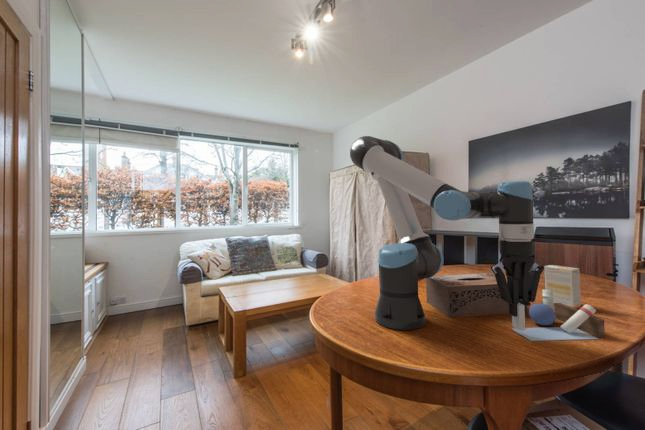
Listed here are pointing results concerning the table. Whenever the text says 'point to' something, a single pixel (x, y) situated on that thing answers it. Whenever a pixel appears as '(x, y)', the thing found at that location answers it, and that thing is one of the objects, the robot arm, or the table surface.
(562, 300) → the supplement box
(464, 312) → the tissue box cover
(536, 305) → the ball
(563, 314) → the rail
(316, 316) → the table surface
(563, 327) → the pin
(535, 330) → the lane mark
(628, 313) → the table surface
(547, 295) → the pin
